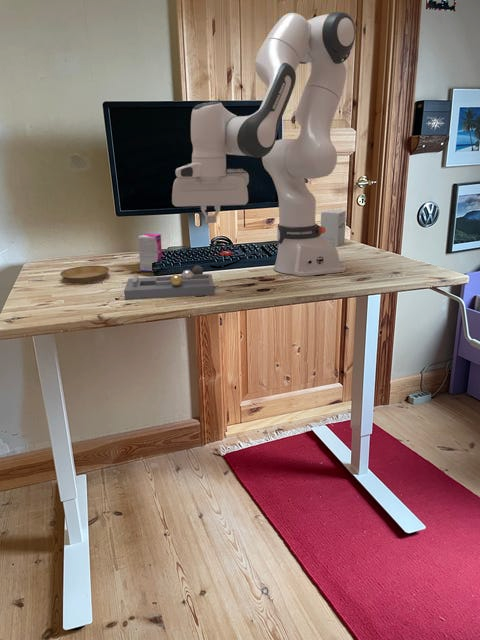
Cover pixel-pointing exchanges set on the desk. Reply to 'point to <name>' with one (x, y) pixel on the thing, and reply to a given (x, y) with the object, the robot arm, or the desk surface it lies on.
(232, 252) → the race car
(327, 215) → the supplement box
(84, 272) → the plant saucer
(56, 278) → the desk surface
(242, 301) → the desk surface
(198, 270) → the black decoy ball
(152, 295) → the board
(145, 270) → the supplement box
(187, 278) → the steel ball
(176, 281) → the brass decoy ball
